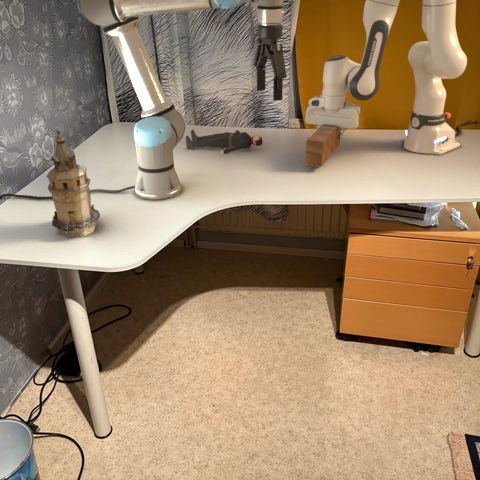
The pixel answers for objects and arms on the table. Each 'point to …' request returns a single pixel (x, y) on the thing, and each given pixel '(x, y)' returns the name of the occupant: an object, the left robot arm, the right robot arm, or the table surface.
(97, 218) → the miniature building
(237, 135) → the toy
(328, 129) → the bar
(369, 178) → the table surface
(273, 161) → the table surface
